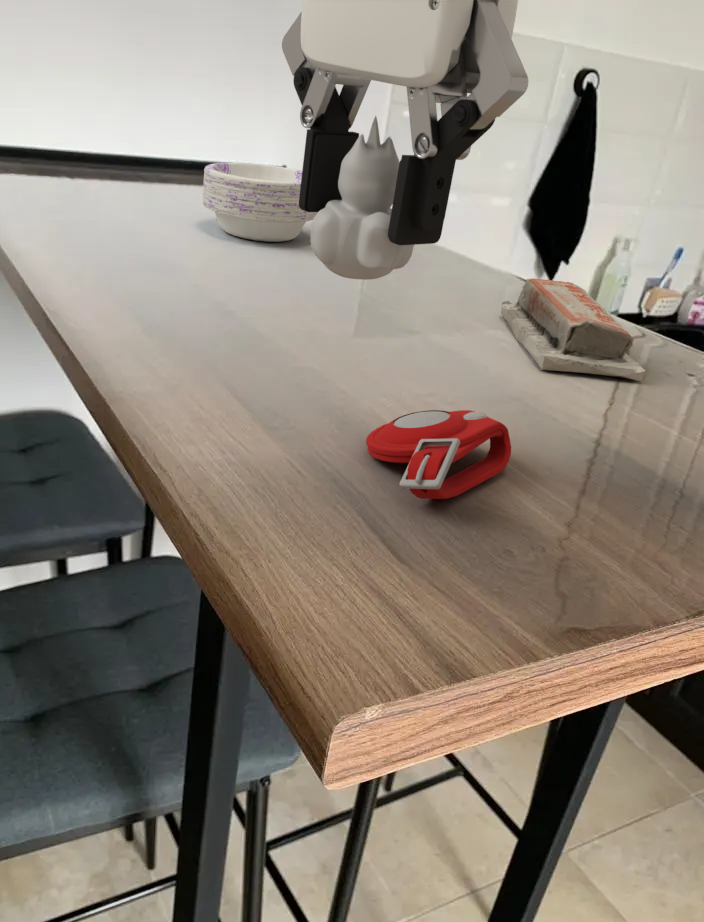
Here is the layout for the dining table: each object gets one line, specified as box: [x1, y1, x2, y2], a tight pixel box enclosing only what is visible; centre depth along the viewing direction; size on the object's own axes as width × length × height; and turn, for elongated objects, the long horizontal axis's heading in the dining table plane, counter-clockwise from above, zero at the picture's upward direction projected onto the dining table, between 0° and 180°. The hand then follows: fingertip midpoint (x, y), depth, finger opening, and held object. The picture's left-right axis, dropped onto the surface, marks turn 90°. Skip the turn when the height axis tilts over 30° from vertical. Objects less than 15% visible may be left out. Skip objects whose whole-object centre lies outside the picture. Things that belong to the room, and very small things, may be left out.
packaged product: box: [500, 278, 647, 382], centre depth 86 cm, size 18×5×10 cm
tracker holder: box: [365, 409, 512, 500], centre depth 57 cm, size 12×4×10 cm
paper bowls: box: [202, 162, 318, 243], centre depth 112 cm, size 15×15×8 cm
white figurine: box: [310, 115, 415, 281], centre depth 44 cm, size 5×7×8 cm
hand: (367, 222), depth 44 cm, fingers closed on white figurine, 6 cm apart
